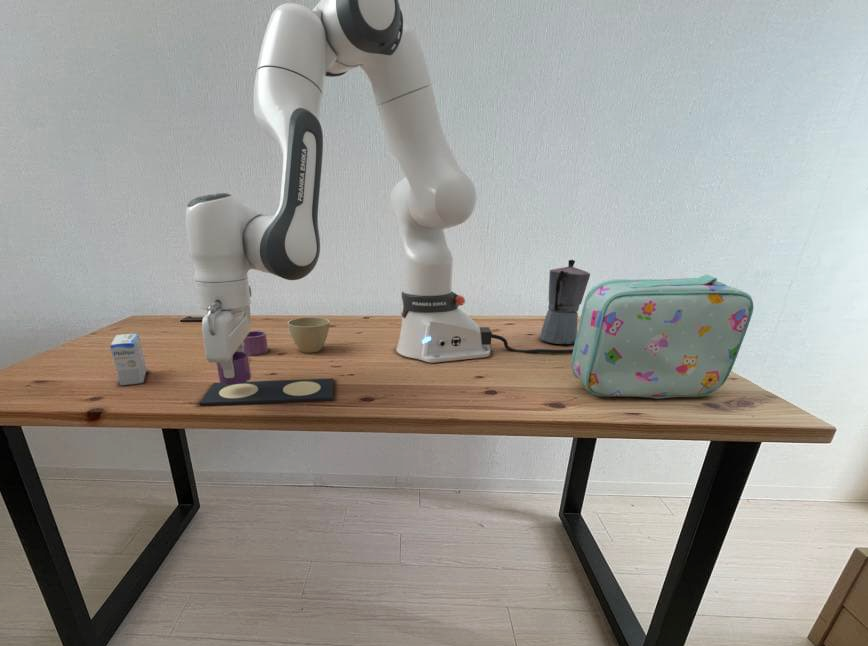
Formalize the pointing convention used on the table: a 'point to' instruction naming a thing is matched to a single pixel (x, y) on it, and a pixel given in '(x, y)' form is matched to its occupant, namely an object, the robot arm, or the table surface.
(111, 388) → the table surface
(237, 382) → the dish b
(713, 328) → the lunch box
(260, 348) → the purple cup
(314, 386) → the mat
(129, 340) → the medicine box
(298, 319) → the flower pot
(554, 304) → the moka pot
